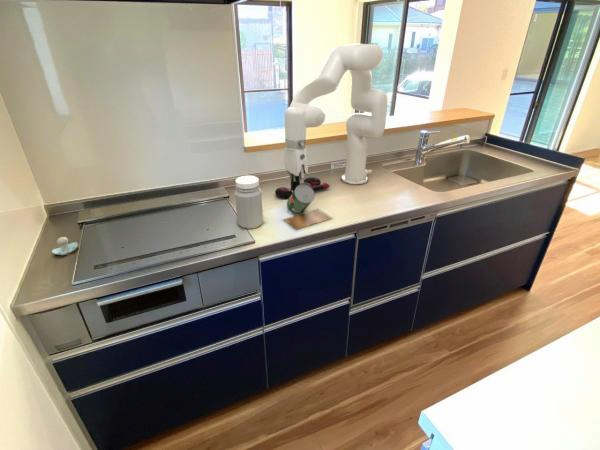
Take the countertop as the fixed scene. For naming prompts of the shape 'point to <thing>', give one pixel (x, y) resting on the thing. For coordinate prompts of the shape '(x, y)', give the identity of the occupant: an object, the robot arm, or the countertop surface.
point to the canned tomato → (300, 199)
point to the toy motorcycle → (309, 181)
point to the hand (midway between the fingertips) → (295, 189)
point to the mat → (306, 219)
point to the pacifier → (64, 247)
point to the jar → (248, 202)
